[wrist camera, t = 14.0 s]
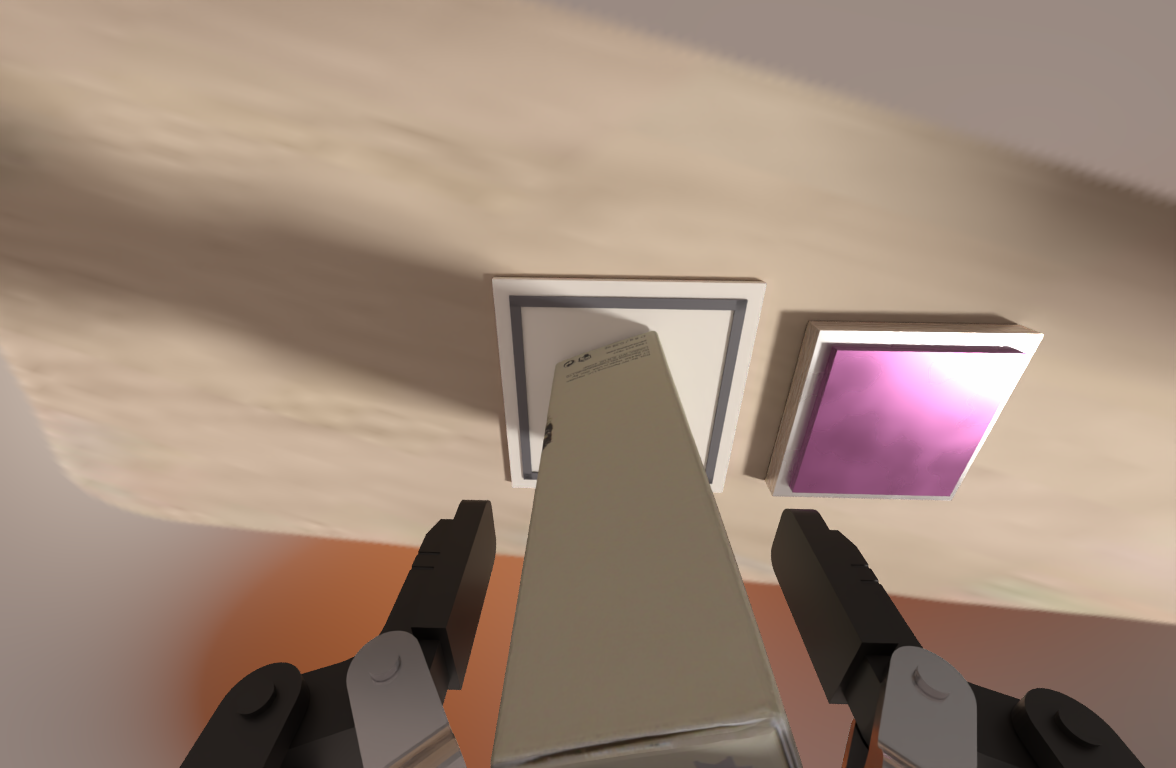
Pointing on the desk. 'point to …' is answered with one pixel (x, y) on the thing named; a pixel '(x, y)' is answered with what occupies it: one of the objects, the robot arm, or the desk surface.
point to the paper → (611, 314)
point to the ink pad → (893, 407)
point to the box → (632, 592)
